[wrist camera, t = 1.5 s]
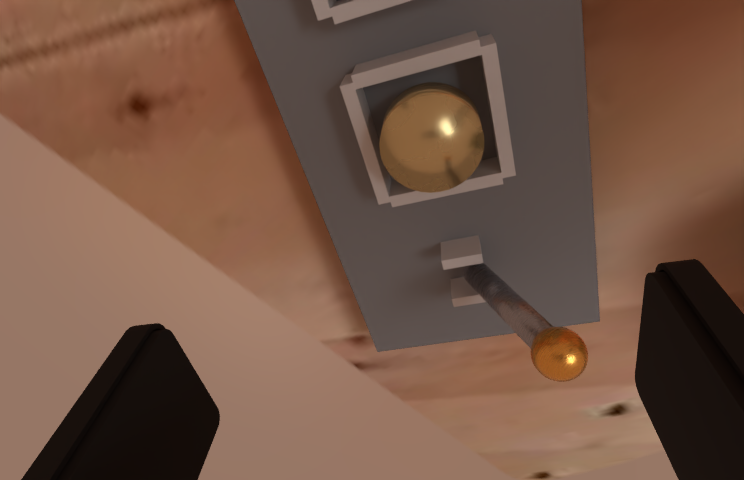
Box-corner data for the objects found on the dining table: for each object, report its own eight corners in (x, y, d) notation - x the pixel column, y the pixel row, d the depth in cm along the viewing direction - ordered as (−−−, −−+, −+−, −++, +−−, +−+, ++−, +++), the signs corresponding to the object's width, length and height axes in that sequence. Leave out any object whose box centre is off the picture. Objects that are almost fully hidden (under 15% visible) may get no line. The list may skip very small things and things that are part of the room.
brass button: (470, 70, 23) (474, 82, 21) (487, 163, 26) (491, 180, 24) (370, 96, 24) (366, 110, 22) (396, 183, 27) (394, 201, 25)
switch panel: (538, -388, 18) (571, -475, 14) (587, 292, 36) (608, 342, 32) (173, -213, 22) (114, -242, 18) (380, 324, 39) (375, 372, 35)
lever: (484, 242, 30) (599, 339, 22) (490, 274, 32) (601, 377, 23) (448, 259, 30) (550, 365, 22) (456, 291, 31) (555, 401, 23)
